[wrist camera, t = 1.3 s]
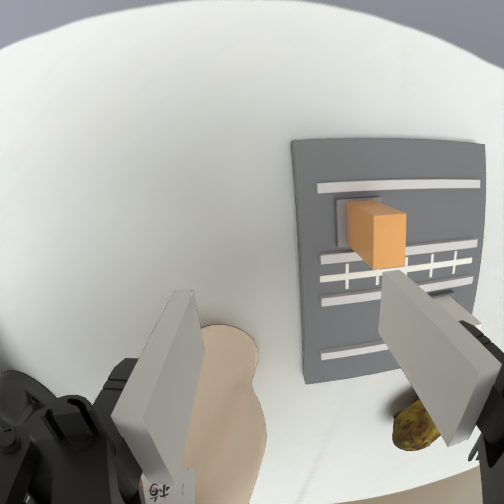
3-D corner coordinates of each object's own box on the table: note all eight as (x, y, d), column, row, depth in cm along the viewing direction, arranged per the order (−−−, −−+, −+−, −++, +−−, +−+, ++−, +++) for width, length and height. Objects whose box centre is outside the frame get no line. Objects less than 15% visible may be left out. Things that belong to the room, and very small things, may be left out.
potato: (449, 408, 36) (471, 442, 28) (375, 422, 36) (392, 465, 28) (468, 364, 34) (497, 398, 26) (391, 377, 34) (415, 421, 26)
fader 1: (335, 244, 27) (361, 273, 20) (334, 198, 25) (362, 213, 19) (378, 241, 27) (413, 267, 20) (378, 196, 25) (416, 210, 19)
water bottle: (154, 335, 32) (46, 589, 5) (220, 292, 30) (158, 629, 3) (213, 396, 34) (184, 630, 7) (279, 363, 33) (307, 633, 6)
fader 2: (415, 329, 29) (446, 367, 23) (420, 295, 28) (455, 329, 21) (445, 323, 29) (478, 356, 22) (451, 289, 28) (488, 320, 21)
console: (303, 373, 33) (306, 388, 30) (290, 141, 26) (294, 139, 24) (455, 343, 32) (465, 354, 30) (473, 143, 26) (489, 144, 23)
